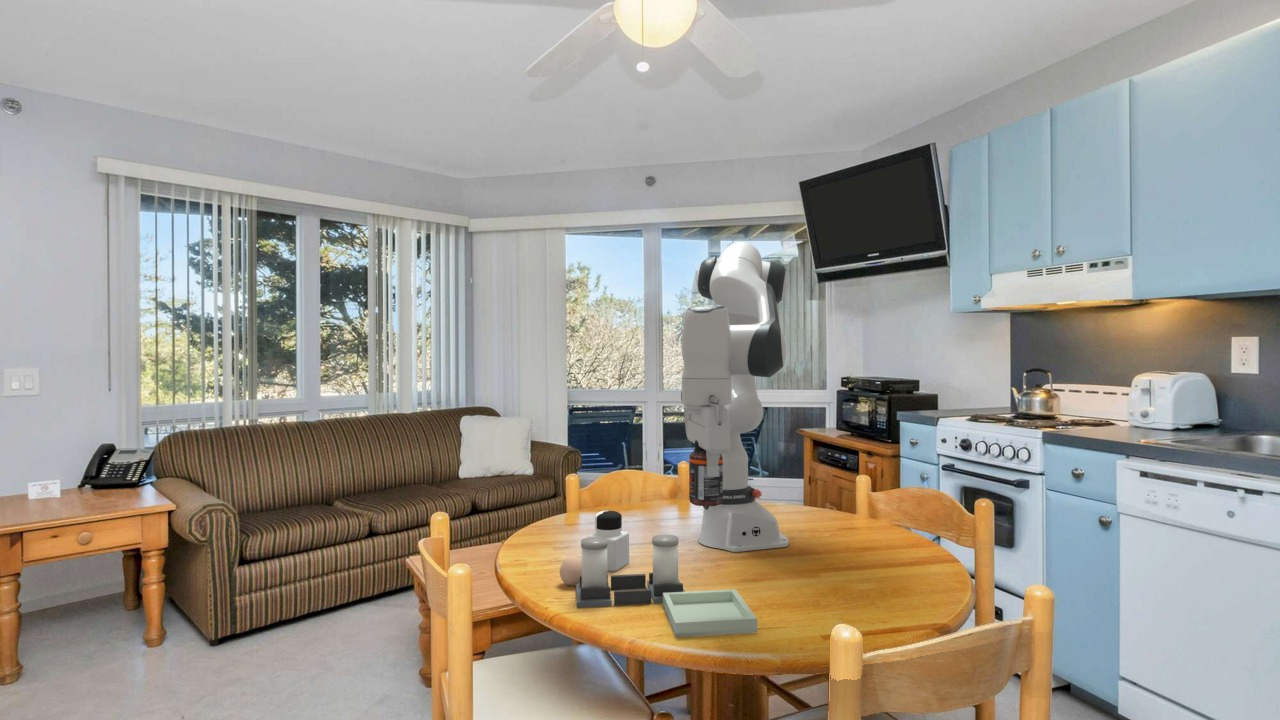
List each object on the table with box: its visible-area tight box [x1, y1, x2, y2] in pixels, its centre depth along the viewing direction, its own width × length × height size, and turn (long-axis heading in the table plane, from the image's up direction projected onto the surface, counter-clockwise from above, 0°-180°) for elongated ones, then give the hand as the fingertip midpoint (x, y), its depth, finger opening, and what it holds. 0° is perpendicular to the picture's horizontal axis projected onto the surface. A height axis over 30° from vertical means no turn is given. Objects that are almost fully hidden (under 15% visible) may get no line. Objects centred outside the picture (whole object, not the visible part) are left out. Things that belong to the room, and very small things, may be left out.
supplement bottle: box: [688, 440, 723, 507], centre depth 114 cm, size 6×6×11 cm
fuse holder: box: [575, 533, 686, 609], centre depth 126 cm, size 21×10×11 cm, turn 97°
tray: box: [662, 588, 758, 638], centre depth 114 cm, size 14×14×2 cm
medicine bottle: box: [586, 510, 630, 573], centre depth 144 cm, size 7×7×12 cm
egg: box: [559, 555, 582, 586], centre depth 132 cm, size 5×5×6 cm
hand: (706, 472), depth 114 cm, fingers closed on supplement bottle, 6 cm apart
